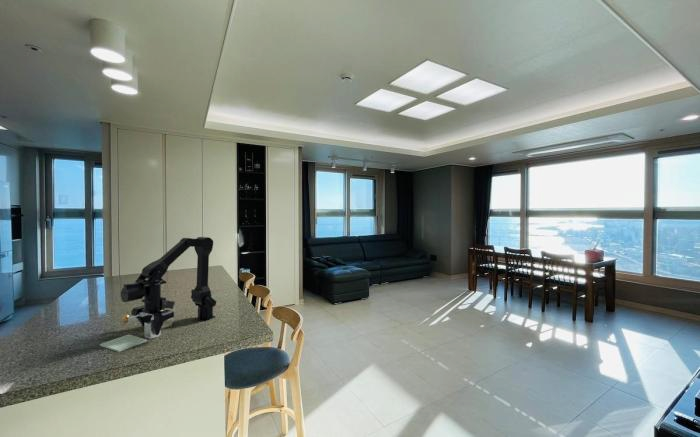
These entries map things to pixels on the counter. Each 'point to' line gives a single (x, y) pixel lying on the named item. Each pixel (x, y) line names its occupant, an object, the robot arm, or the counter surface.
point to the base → (167, 323)
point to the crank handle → (132, 318)
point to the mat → (123, 343)
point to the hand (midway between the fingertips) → (152, 333)
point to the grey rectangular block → (149, 330)
